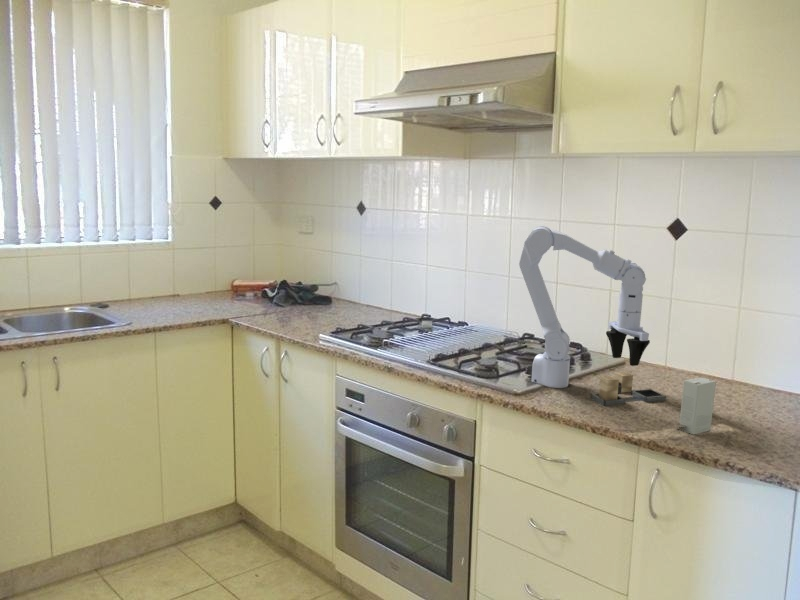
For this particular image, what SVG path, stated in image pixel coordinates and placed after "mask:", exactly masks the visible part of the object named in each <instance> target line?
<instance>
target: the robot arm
mask: <svg viewBox="0 0 800 600" xmlns="http://www.w3.org/2000/svg"><path fill="white" fill-rule="evenodd" d="M552 247H553V248H552ZM551 248H552V251H561V250H563V251H568V252H569V253H571V254H574V255H575V256H578V257H580V258H581V259H584V260H586V261H588V262H590V263H592V267H593V269H594V270H595V271H597V272H600V273H601V274H603V275H605V276H607V277H609V278H611V279H612V280H615V281H621V287H620V292H619V297H618V306H617V307H618V308H617V309H618V310H617V321H615V320H614V321H608V329H609V330H607V331H606V332H605V334H606V337H607V338H608V341H609V344H610V350H611V354H612V358H613V359H620V358H621V357H622V355H623V350H624V344H625V341H626V342H627V345H628V351H629V359H628V360H629V366H631V367H634V366H639V364H640V361H641V358H642V356H643V354H644V352H645V351H646V349H647V347H648V346H649V345H650V341H651V340H649V336H650V333H648V331H645V330H644V327H643V326H641V321H642V320H641V319H642V318H641V317H642V307H643V297H644V296H643V295H644V294H643V292H644V285H645V283H646V281H647V278H646V274H645V271H644V269H643V268H642V267H641V266H640V265H638V264H637V263H635V262H632V260H631V259H628V258H627V259H625V258H623V257H620V256H619V255H617V254H615V250H612V249H609V250H607V249H603V250H599V251H597V250H595V249H594V248H592V247H590V246H588V245H587V244H585V243H583V242H581V241H579V240H577V239H575V238H573V237H571V236H569V235H568V234H565V233H563V232H560V231H558V230H555V229H550V228H549V227H548V226H545V225H540V226H536V227H535V228H533V229H532V231H531V232H530V233H529V234H528V236H527V238H526V239H525V241H524V244H523V247H522V252H521V255H520V258H519V259H520V260H519V263H518V265H519V269H520V273H521V274H522V277H523V279H524V280H523V281H524V282H525V285H526V288H527V291H528V294H529V296H530V299H531V302H532V304H533V307H534V310H535V312H536V315H537V317H538V320H539V324H540V326H541V330H542V335H543V338H544V341H545V344H544V352H543V353H538V354H536V355H535V356H534V359H533V360H532V361H533V362H532V366H531V367H532V368H531V381H530V382H532V383H535V384H539V385H542V386H544V387H548V388H555V389H563V388H567V387H568V386H569V380H570V379H569V378H570V364H571V362H570V361H571V355H570V354H569V352H570V336H569V334H568V333H567V332H566V331H565V330H564V329H563V327H562V325H561V323H560V320H559V318H558V317H557V314H556V311H555V308H554V305H553V303H552V299H551V297H550V294H549V292H548V289H547V286H546V284H545V280H544V278H543V275H542V272H541V269H540V267H539V264H540V262H541V260H542V258H543V256H544V255H545V254H546V253H547V252H548V251H549V250H550V249H551ZM627 336H630V337H633V338H627Z"/></svg>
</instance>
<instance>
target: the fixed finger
mask: <svg viewBox="0 0 800 600" xmlns="http://www.w3.org/2000/svg"><path fill="white" fill-rule="evenodd" d="M618 384H619V379H617V378H615V376H612V375H606V376H600V377H599V389H598V390H599V392H598V393H599V397H600V398H602V399H604V400H616V399H617V396H619V395H622V392H621V389H622V387H621V386H619V385H618Z"/></svg>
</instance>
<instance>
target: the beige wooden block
mask: <svg viewBox="0 0 800 600" xmlns="http://www.w3.org/2000/svg"><path fill="white" fill-rule="evenodd" d="M614 373H615V374H614V377H615V378H617V379H619V384H618V385H619V386H621V387H622V389H621V393H631V391H632V390H633V381H634V379H633V378H634V375H633V374H631V373H629V372H627V371H618V372H614Z"/></svg>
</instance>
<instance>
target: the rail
mask: <svg viewBox="0 0 800 600" xmlns="http://www.w3.org/2000/svg"><path fill="white" fill-rule="evenodd" d="M590 399H591V400H593V401H595V402H597V404H600V405H602V406H604V407H607V406H610V407H611V406H618V405H626V403H630V402H641V401H642V402H643V403H654V402H655V403H656V402H666V400H667V396H666V395H665V394H662V393H660V392H658V391H656V390H654V389H652V388H646V389H634V390H633V389H632V391H631V392H630V396H627V397H622V396H619V395H618V396H617V399H616V400H604V399H602V398H600V397H599V392H595V393H590Z"/></svg>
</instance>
